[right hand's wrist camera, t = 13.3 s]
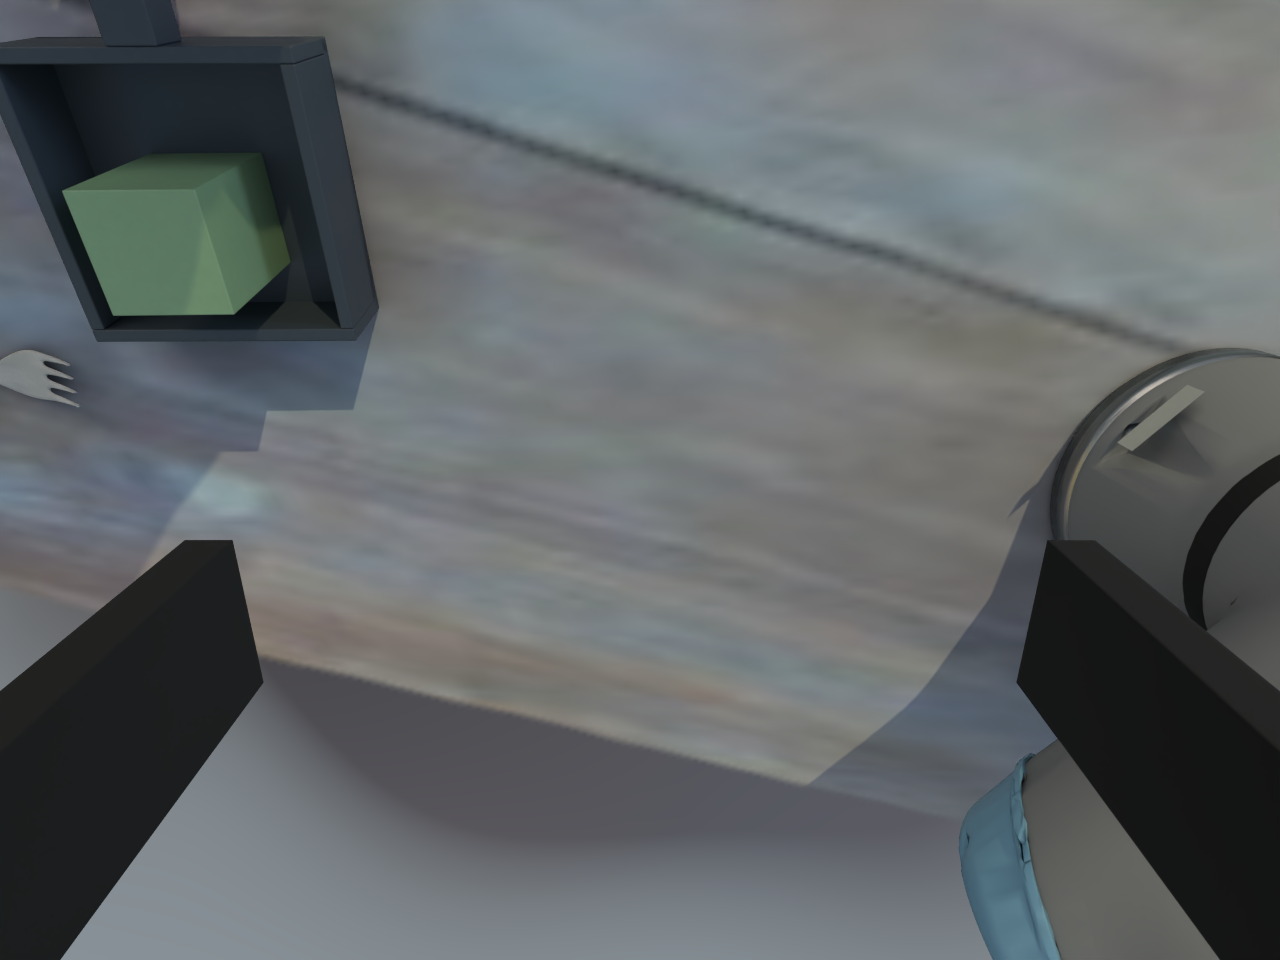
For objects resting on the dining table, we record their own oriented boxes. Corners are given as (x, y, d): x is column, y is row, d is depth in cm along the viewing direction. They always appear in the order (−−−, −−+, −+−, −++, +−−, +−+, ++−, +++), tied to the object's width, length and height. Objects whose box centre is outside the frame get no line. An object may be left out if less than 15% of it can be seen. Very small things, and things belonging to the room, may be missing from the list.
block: (261, 152, 35) (194, 189, 29) (291, 262, 37) (234, 315, 32) (149, 153, 35) (60, 190, 29) (187, 263, 37) (112, 316, 32)
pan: (379, 308, 39) (356, 341, 36) (141, 309, 39) (96, 342, 36) (233, -422, 25) (173, -479, 22) (-138, -423, 25) (-254, -480, 22)
